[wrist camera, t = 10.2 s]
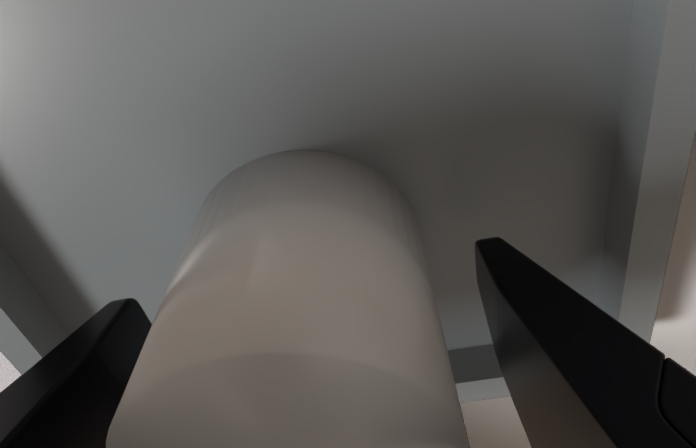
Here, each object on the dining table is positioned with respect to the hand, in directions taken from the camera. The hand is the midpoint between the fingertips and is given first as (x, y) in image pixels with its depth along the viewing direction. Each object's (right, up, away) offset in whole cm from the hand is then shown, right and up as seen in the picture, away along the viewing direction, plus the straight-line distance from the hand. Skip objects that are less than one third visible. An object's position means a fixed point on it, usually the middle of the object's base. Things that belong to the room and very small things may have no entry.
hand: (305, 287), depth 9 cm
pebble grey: (0, +1, +1) cm, 1 cm away
